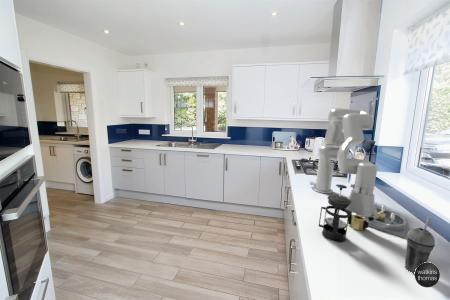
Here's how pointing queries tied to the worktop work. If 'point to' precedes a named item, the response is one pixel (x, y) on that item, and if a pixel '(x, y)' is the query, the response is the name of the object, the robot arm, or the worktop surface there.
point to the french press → (336, 218)
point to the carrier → (388, 222)
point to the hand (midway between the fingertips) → (357, 225)
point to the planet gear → (357, 222)
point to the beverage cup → (418, 247)
